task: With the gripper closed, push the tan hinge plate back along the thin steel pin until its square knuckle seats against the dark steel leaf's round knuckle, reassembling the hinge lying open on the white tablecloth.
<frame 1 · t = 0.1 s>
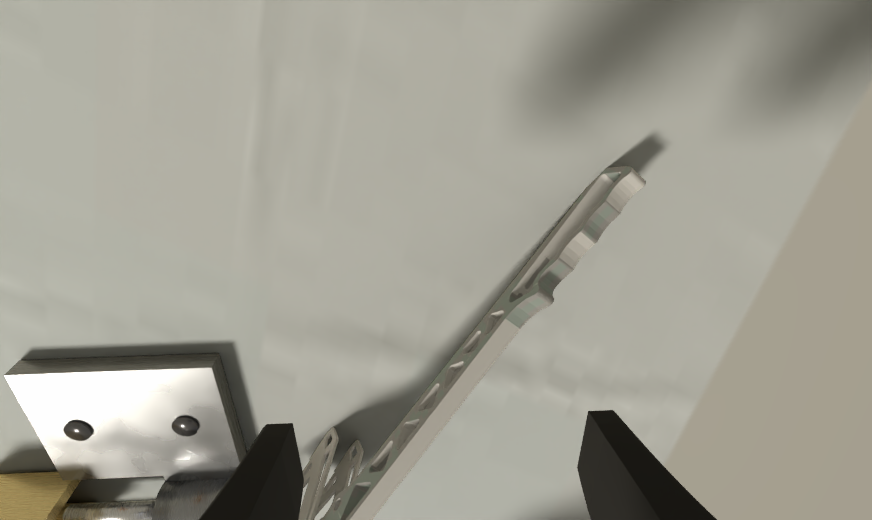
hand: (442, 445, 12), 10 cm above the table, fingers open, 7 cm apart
bracket: (434, 342, 24), on the table
fixed leaf: (254, 479, 27), on the table
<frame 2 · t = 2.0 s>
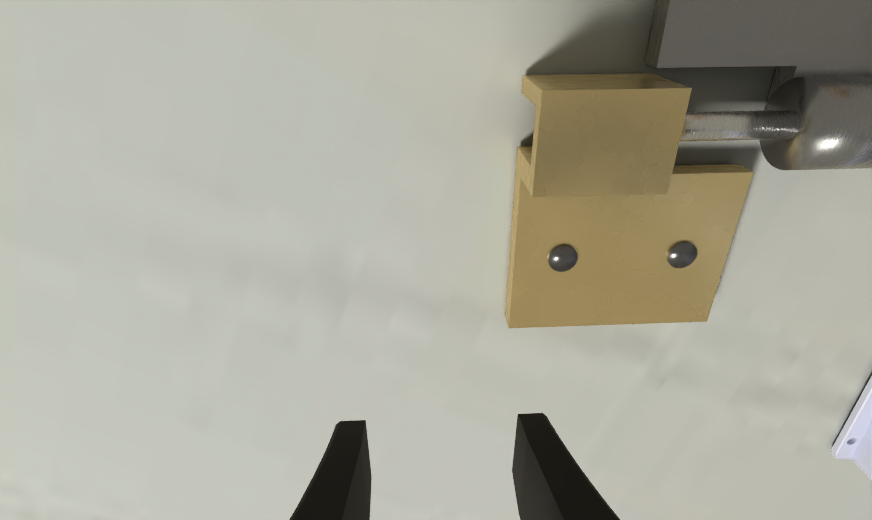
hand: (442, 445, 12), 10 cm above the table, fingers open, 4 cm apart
fixed leaf: (862, 112, 19), on the table
tan hinge plate: (634, 222, 19), point 2 cm above the table, slide at 4.5 cm
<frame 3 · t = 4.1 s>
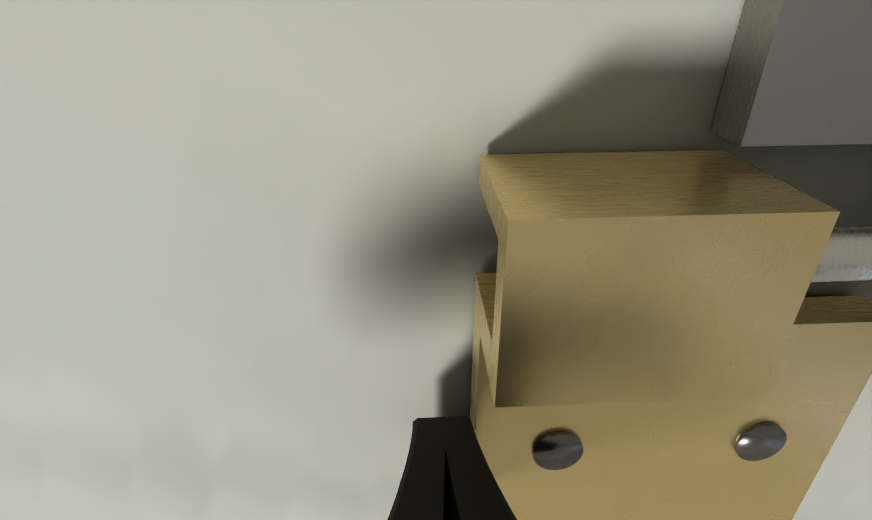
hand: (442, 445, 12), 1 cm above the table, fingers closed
tan hinge plate: (685, 406, 11), point 2 cm above the table, slide at 4.5 cm, touching gripper
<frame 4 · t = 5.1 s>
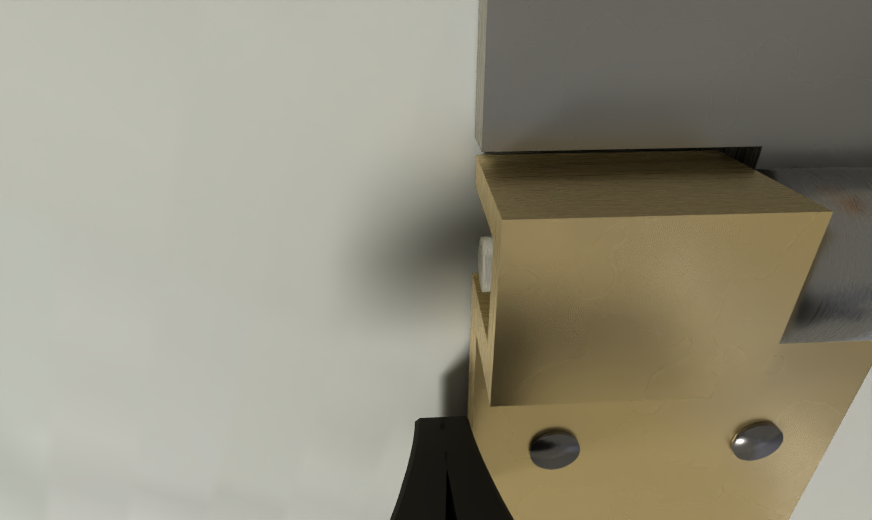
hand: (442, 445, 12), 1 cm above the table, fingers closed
tan hinge plate: (681, 406, 11), point 2 cm above the table, slide at 0.0 cm, touching gripper
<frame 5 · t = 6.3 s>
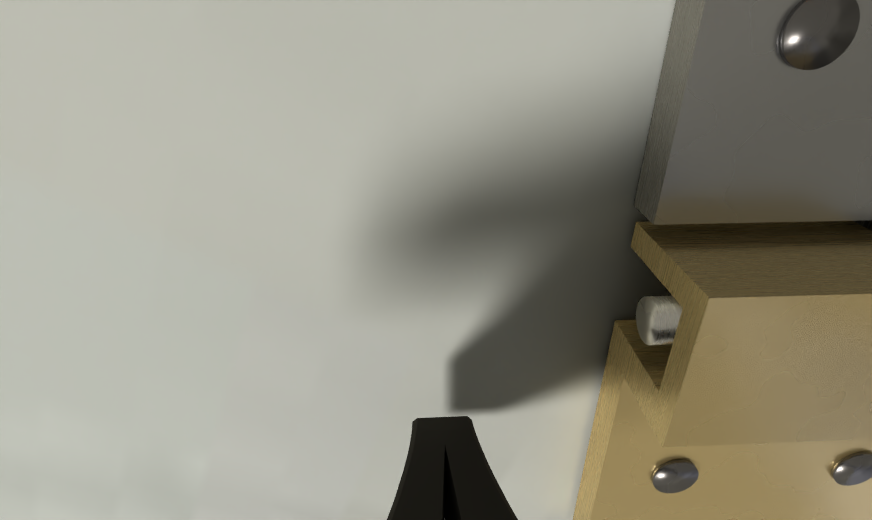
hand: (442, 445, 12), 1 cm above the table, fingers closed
tan hinge plate: (800, 440, 12), point 2 cm above the table, slide at 0.0 cm
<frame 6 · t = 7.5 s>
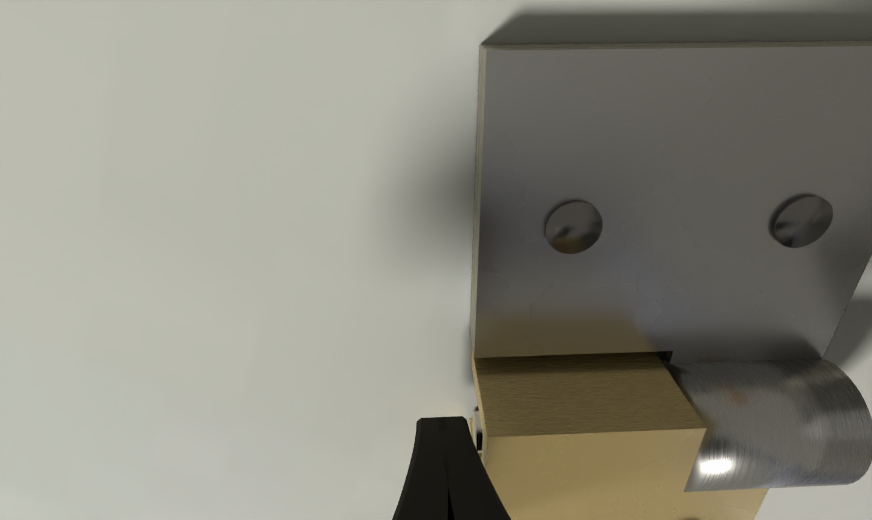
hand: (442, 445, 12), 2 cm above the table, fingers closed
fixed leaf: (778, 375, 14), on the table
tan hinge plate: (626, 516, 14), point 2 cm above the table, slide at 0.0 cm, touching gripper
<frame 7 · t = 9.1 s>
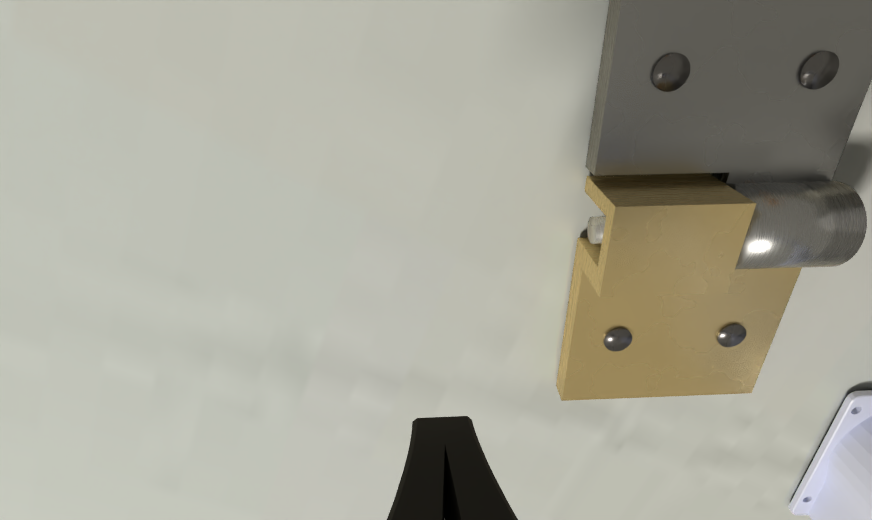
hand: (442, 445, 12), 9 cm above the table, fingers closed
fixed leaf: (799, 207, 20), on the table
tan hinge plate: (689, 309, 20), point 2 cm above the table, slide at 0.0 cm
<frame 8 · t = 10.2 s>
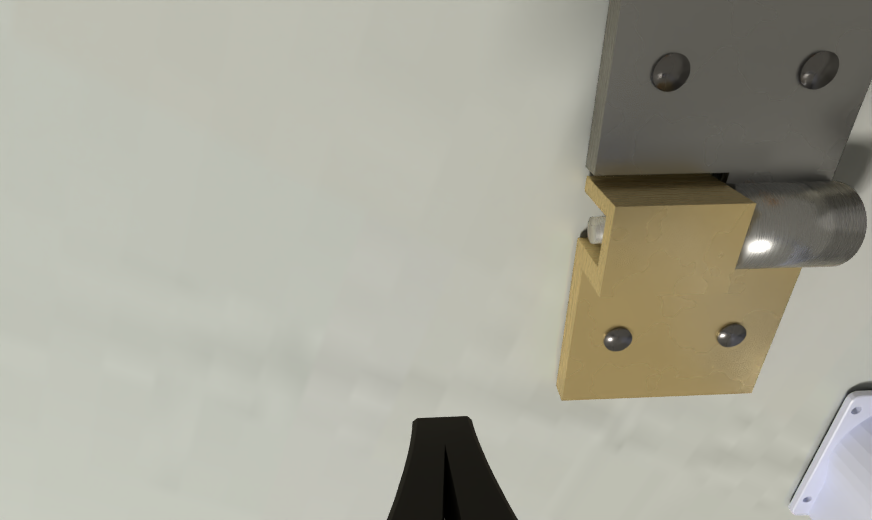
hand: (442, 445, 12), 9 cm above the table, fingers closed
fixed leaf: (799, 207, 20), on the table
tan hinge plate: (689, 309, 20), point 2 cm above the table, slide at 0.0 cm
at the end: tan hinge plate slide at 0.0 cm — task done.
